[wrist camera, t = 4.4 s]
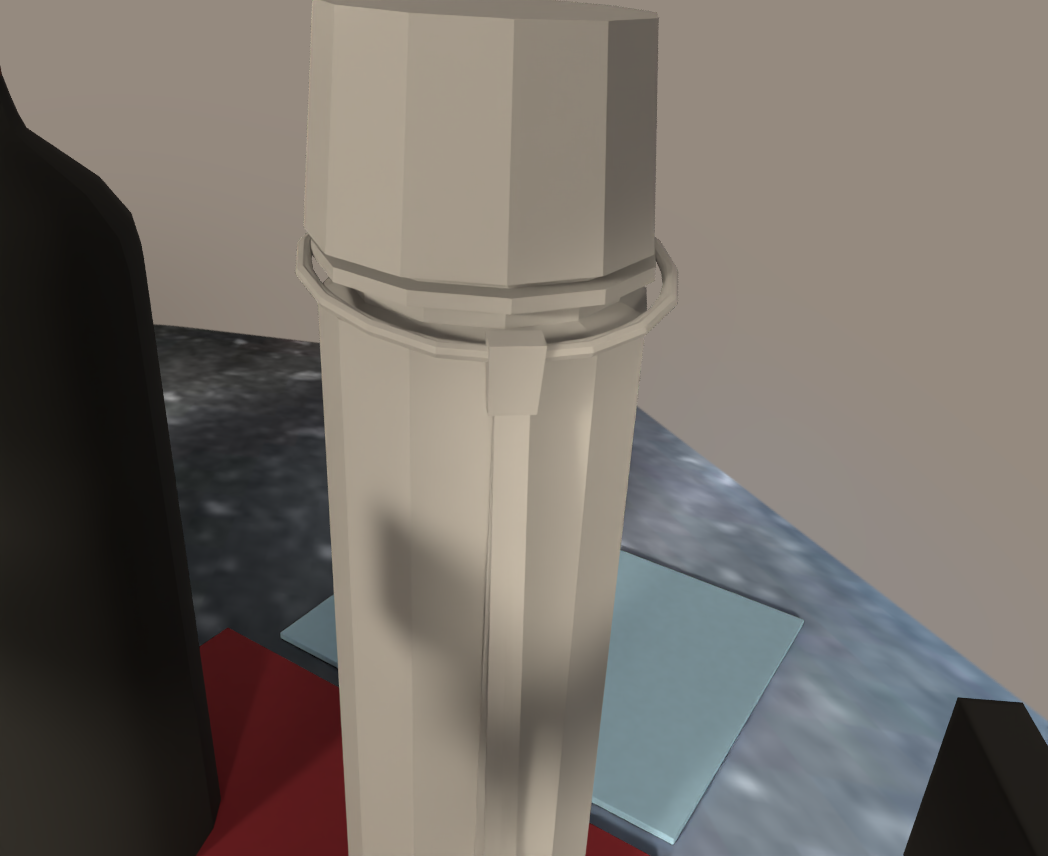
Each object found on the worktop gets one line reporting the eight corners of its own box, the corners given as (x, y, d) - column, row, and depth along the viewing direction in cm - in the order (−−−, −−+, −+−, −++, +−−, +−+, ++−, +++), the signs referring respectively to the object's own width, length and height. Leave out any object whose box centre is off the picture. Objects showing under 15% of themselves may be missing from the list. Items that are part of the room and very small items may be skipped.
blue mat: (803, 624, 42) (804, 619, 42) (673, 845, 31) (674, 839, 31) (472, 498, 50) (472, 493, 50) (280, 638, 39) (279, 632, 39)
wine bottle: (-20, 970, 26) (-516, -449, 12) (-41, 781, 32) (-398, -337, 18) (250, 854, 30) (97, -340, 16) (188, 704, 35) (37, -275, 22)
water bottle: (340, 802, 32) (292, -14, 20) (569, 782, 33) (645, 1, 22) (333, 1097, 24) (246, 20, 12) (636, 1056, 25) (814, 42, 13)
